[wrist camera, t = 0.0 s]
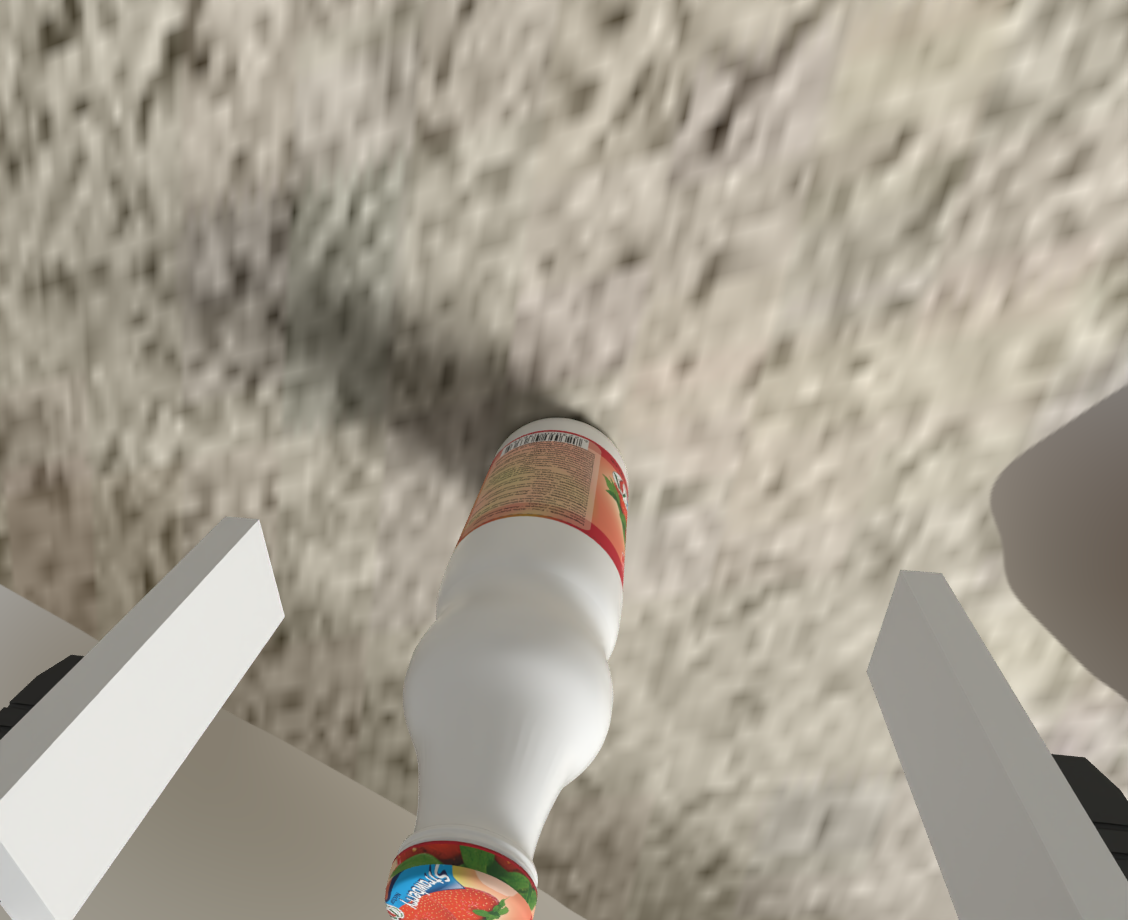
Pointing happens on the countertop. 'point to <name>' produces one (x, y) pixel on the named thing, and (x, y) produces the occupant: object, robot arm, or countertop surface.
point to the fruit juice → (513, 672)
